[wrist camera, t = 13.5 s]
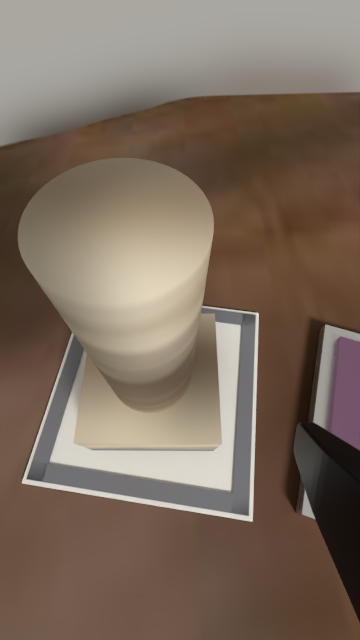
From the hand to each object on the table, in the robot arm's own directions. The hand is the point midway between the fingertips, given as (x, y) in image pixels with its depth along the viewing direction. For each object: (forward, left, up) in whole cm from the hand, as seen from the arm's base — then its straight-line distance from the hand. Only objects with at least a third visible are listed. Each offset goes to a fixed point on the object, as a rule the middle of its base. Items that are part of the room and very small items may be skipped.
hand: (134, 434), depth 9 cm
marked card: (+1, +3, -8) cm, 9 cm away
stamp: (+1, +3, -8) cm, 8 cm away
